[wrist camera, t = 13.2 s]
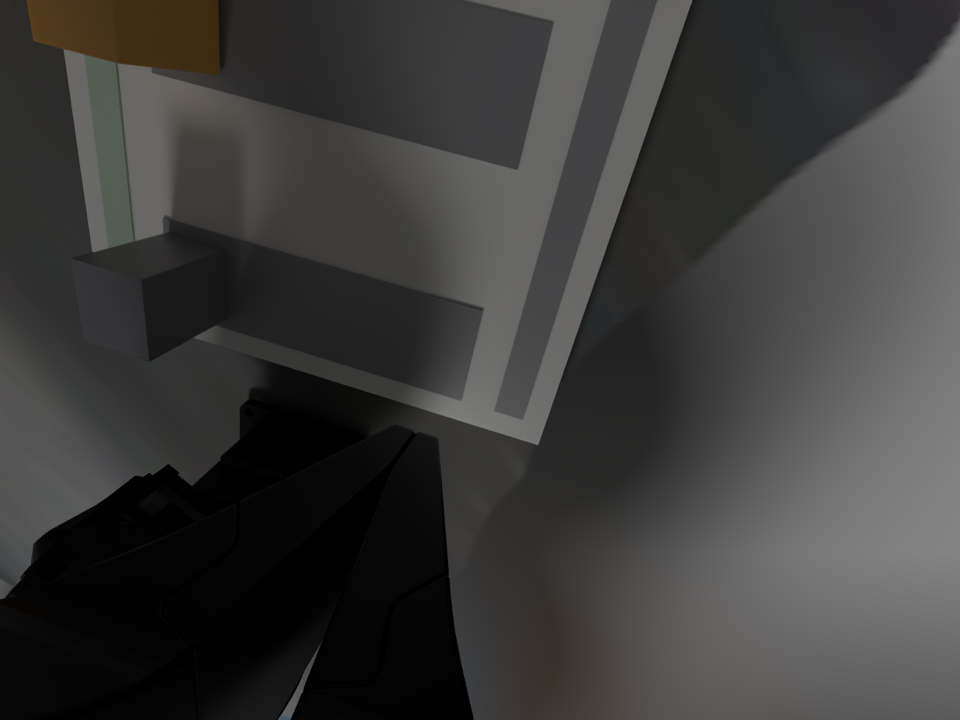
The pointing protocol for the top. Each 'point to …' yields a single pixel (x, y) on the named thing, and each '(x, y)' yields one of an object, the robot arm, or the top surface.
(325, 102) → the panel
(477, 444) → the top surface
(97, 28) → the orange block
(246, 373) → the top surface
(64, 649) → the robot arm
